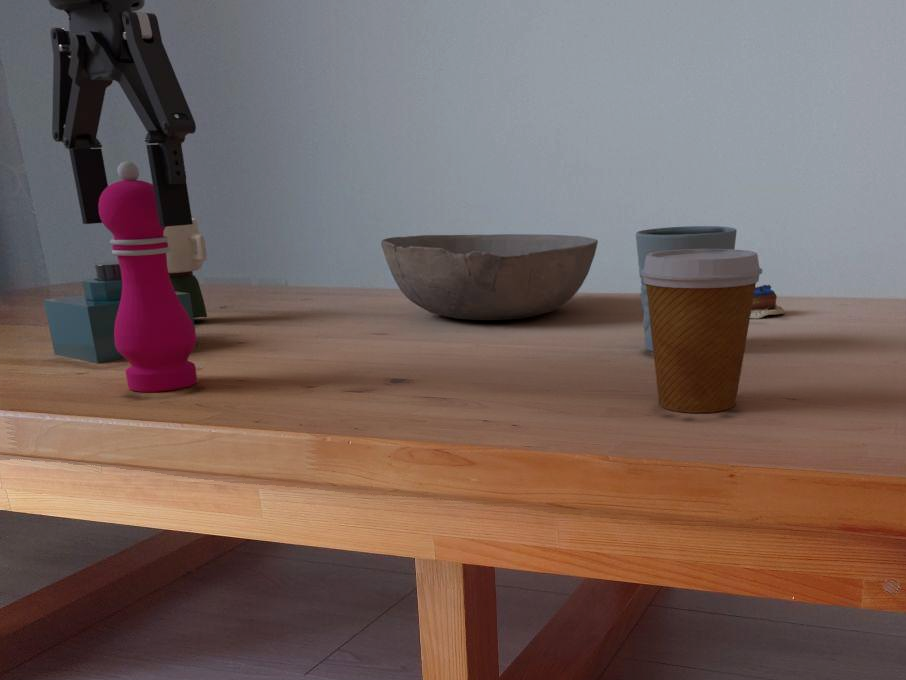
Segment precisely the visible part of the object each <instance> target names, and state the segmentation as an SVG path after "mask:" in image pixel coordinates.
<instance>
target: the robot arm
mask: <svg viewBox="0 0 906 680" xmlns="http://www.w3.org/2000/svg"><path fill="white" fill-rule="evenodd" d="M48 2H49V4H50V6H52V8H54V9H56V10H58V11H64V13H66V14H67V15H68V26H69V27H50V40H51V49H52V55H53V60H52V61H53V62H52V63H53V66H52V67H53V68H52V118H51V119H52V121H51V123H52V124H51V132H52V133H51V135H52V138H53V140H54V141H55V142H56V143H63V146H64V148H65V149H68V151H69V157H70V162H71V168H72V173H73V178H74V182H75V188H76V193H77V194H76V195H77V199H78V204H79V209H80V215H81V220H82V224H83V225H94V224H103V223H102V221H101V219H100V215H99V207H98V204H99V198H100V196H101V194H102V192H103V191H104V190H105V189H106V188H107V187H108V186H109V183H108V178H107V172H106V167H105V162H104V156H103V151H102V147H103V144H102V143H101V141H100V140H99V139H98V138H97V137H98V136H97V135H98V130H99V125H100V121H101V115H102V110H103V105H104V100H105V95H106V90H107V88H108V87H110V86H111V85H112V84H113V82H114V81H115V82H117V84H119V86H120V88H121V90H122V91H123V93H124V95H125V96H126V98H127V100H128V101H129V103H130V105H131V107H132V108H133V110H134V111H135V113H136V115H137V117H138V118H139V120H140V122H141V123H142V125H143V127H144V129H145V131H146V132H147V133H146V135H145V139H144V143H145V144H146V145H145V147H146V153H147V158H148V164H149V169H150V170H149V171H150V175H151V181H152V183H151V184H153V189H154V195H155V201H156V207H157V213H158V219H159V225H160V227H168V226H180V225H191V224H193V223H192V218H193V217H192V210H191V205H190V197H189V192H188V191H189V190H188V185H187V174H186V173H187V172H186V165H185V160H184V154H183V146H182V144H183V143H184V142H185V140H186V136H188V135H190V134H191V135H192V134H195V133H196V131H197V125H196V121H195V119H194V116H193V114H192V111H191V109H190V106H189V103H188V102H187V100H186V97H185V95H184V92H183V90H182V87H181V84H180V82H179V80H178V76H177V74H176V72H175V70H174V68H173V66H172V62H171V60H170V58H169V55H168V52H167V51H166V48H165V46H164V43H163V39H162V33H161V30H160V25H159V21H158V17H157V15H156V13H151V12H141V11H140V10H142V9H143V8H144V6H145V4H146V1H145V0H48ZM139 11H140V12H139ZM176 116H178V117H176Z"/></svg>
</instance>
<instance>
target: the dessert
mask: <svg viewBox="0 0 906 680" xmlns="http://www.w3.org/2000/svg"><path fill="white" fill-rule="evenodd" d="M777 297H778V295H777V294H776V293H775V291H774V290H773V289H772V286H771V284H763V285H760V286H755V291H754V297H753V304H752V309H751V315H750V319H755V320H757V319H761V318H764V317H765V316H769V315H772V316H773V315H780V314H781V315H782V314H785V309H784V308H783V307H782V306H781V305H778V304H777V299H778V298H777Z"/></svg>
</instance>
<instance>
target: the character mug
mask: <svg viewBox="0 0 906 680" xmlns="http://www.w3.org/2000/svg"><path fill="white" fill-rule="evenodd" d="M192 223H193V224H191V225H180V226H168V227H166V228H165V230H164V234H163V236H167V237H168V238H169V241H168V242H167V243H168V247H169V248H170V251H169V252H167V253H166V255H167V268H168V272H169V276H170V281H171V283H172V286H173V288H174V291H175V292H183V293H190V298H191V305H192V312H193V318H194V319H197V318H207V317H208V313H207V309H206V304H205V299H204V296H203V293H202V291H201V290H202V289H201V287H200V282H199V280H198V278H197V277H196V275H194V273H193V272H194V271H198V270H200V269H202V266H203V265H204V262H205V261H206V260H207V259H208V258H207V256H208V254H207V253H208V252H207V248H206V240H205V237H204V235H201V234H200V232H199V225H198V224H199V223H198V220H197V218H193V217H192Z"/></svg>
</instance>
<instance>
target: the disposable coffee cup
mask: <svg viewBox="0 0 906 680" xmlns="http://www.w3.org/2000/svg"><path fill="white" fill-rule="evenodd" d="M763 272H764V271H763V268H761V267H760V262H759V256H758V253H757V252H755V251H751V250H746V249H734V250H733V249H684V250H669V251H659V252H653V253H649V254H647V256H646V260H645V265H644V269H643V270H641V271H640V273H641V275H642V276H643V279H644V283H645V284H646V288H647V297H648V307H649V316H650V326H651V335H652V344H653V351H652V352H653V360H654V361H653V362H654V368H655V369H654V371H655V377H656V378H655V379H656V389H657V398H658V405H659V406H660V407H661V408H664V409H667V410H670V411H674V412H681V413H690V414H691V413H692V414H695V413H699V414H700V413H715V412H721V411H727V410H729V409H731V408H733V407H735V406H736V404H737V397H738V391H739V384H740V379H741V373H742V367H743V361H744V356H745V351H746V343H747V338H748V334H749V333H748V332H749V327H750V326H749V325H750V320H751V318H750V315H751V309H752V304H753V297H754V291H755V287H756V284H757V283H758V282H759V281H760V275H762V274H763Z"/></svg>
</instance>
